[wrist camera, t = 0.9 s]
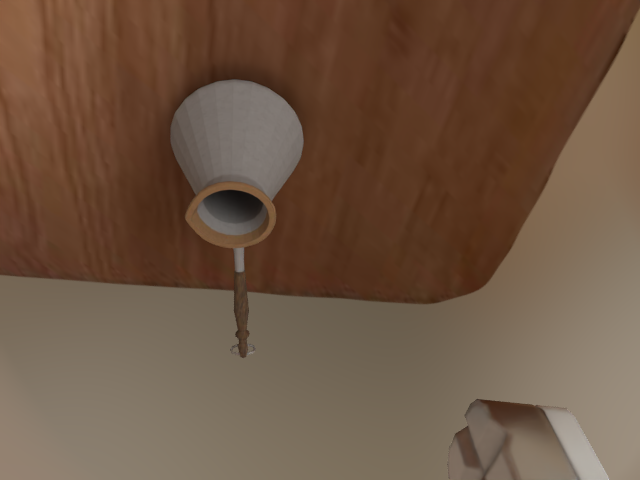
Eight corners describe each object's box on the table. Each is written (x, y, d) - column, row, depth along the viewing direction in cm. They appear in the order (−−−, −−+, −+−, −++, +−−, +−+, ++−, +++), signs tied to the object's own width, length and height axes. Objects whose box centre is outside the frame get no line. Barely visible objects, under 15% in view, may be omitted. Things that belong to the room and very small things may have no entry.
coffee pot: (164, 63, 45) (133, 173, 35) (303, 65, 46) (314, 172, 36) (194, 247, 60) (178, 364, 49) (299, 245, 61) (306, 360, 50)
